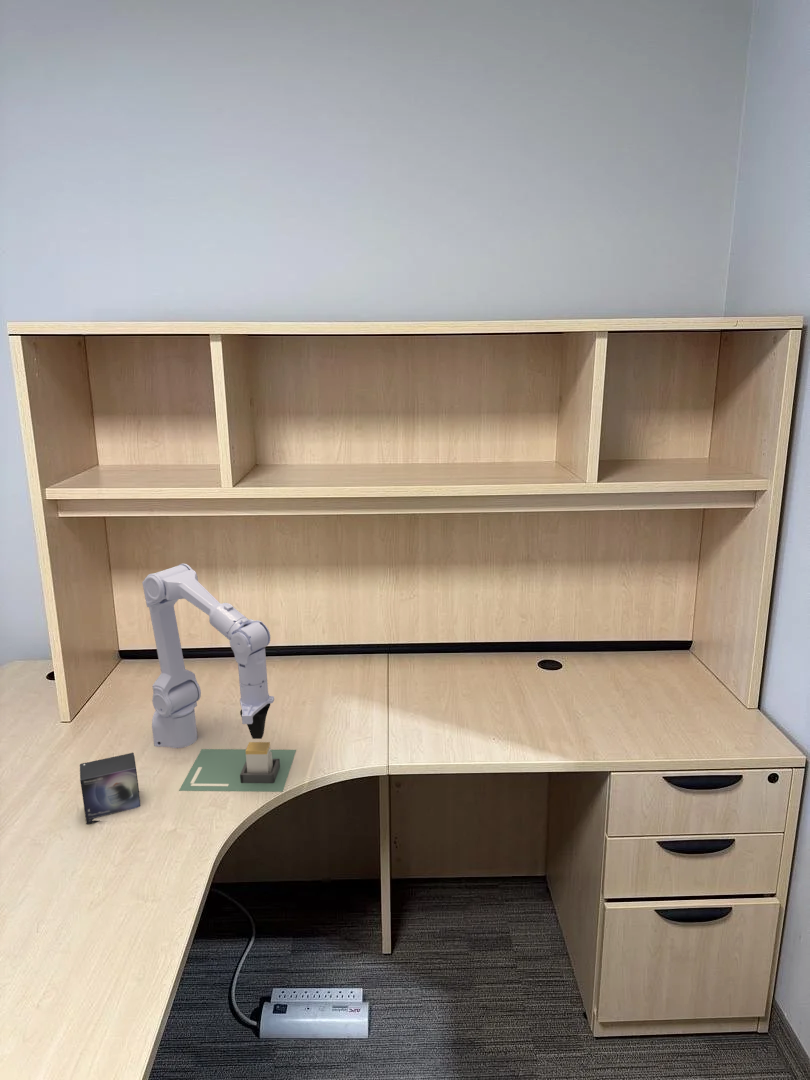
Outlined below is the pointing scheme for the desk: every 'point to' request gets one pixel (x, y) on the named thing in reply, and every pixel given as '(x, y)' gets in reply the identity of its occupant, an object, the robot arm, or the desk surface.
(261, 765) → the plug
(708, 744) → the desk surface
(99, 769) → the small box
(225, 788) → the board
